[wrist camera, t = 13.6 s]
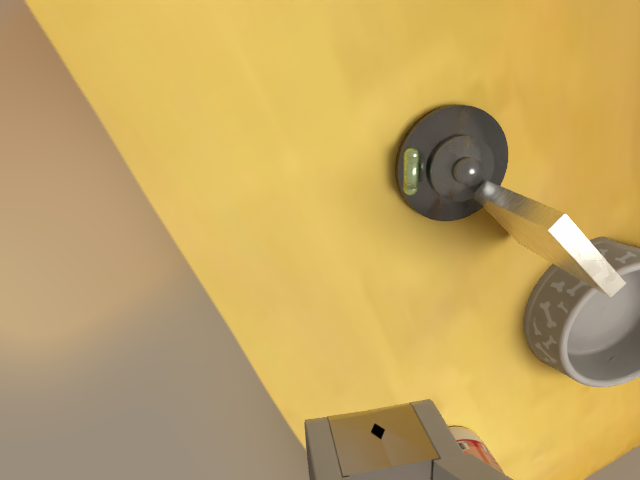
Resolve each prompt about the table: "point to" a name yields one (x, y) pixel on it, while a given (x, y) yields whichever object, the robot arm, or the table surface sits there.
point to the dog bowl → (588, 321)
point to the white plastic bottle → (473, 445)
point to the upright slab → (517, 211)
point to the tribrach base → (422, 143)
